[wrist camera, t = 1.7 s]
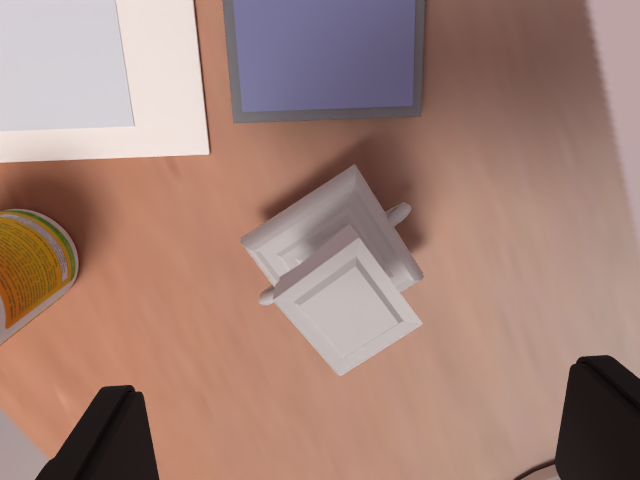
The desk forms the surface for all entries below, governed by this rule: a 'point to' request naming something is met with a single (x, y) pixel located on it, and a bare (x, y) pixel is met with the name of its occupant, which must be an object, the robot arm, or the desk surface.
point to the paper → (100, 80)
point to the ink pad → (324, 59)
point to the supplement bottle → (32, 267)
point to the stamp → (339, 270)
